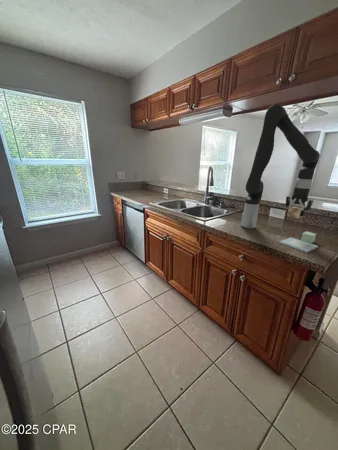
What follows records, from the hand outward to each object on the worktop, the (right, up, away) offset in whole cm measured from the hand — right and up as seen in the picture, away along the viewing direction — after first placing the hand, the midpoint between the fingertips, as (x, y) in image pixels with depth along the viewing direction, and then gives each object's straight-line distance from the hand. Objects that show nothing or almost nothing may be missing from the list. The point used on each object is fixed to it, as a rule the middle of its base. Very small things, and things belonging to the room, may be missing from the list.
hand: (295, 215), depth 112 cm
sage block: (+6, -16, -2) cm, 17 cm away
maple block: (0, -1, 0) cm, 1 cm away
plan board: (-4, -17, -8) cm, 19 cm away
